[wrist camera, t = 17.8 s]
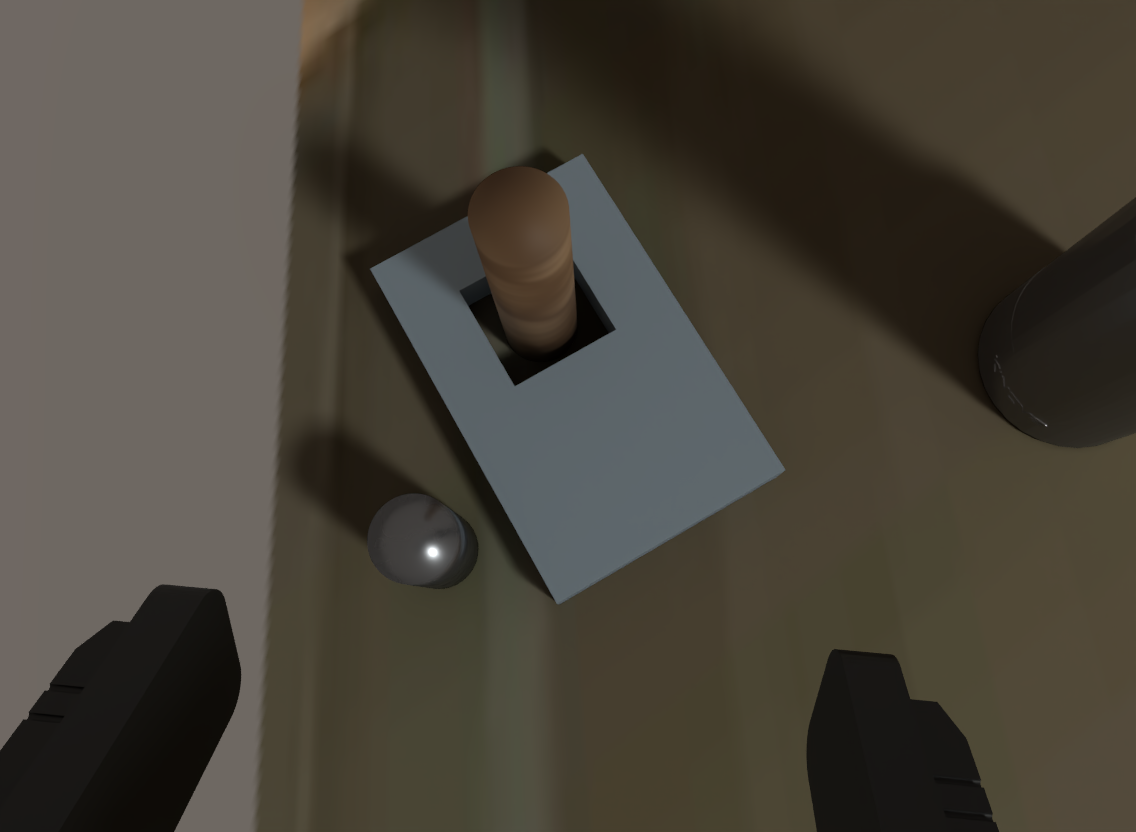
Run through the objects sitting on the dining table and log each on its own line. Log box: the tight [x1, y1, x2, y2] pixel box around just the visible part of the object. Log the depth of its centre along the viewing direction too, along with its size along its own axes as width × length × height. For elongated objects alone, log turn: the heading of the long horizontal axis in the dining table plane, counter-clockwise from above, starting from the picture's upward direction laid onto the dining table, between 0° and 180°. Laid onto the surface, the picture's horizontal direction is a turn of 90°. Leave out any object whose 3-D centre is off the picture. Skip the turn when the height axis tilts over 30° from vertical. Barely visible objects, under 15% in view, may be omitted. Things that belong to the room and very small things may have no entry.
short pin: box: [367, 493, 478, 589], centre depth 42 cm, size 4×4×7 cm
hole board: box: [370, 154, 785, 604], centre depth 46 cm, size 13×20×2 cm, turn 30°
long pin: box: [468, 166, 578, 362], centre depth 41 cm, size 4×4×14 cm
